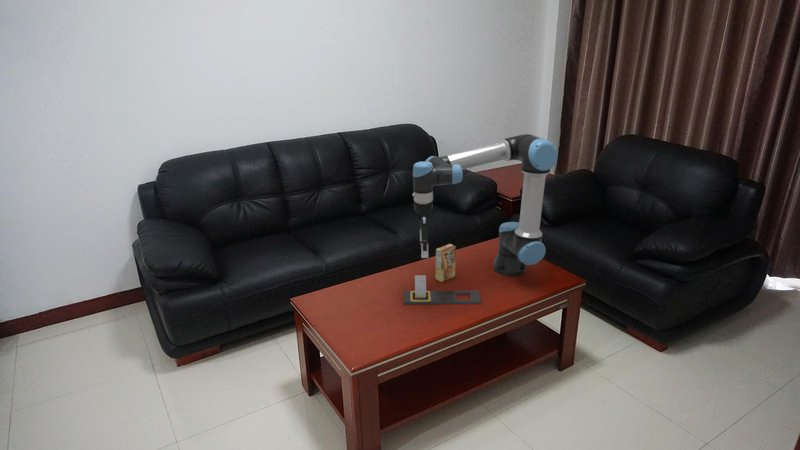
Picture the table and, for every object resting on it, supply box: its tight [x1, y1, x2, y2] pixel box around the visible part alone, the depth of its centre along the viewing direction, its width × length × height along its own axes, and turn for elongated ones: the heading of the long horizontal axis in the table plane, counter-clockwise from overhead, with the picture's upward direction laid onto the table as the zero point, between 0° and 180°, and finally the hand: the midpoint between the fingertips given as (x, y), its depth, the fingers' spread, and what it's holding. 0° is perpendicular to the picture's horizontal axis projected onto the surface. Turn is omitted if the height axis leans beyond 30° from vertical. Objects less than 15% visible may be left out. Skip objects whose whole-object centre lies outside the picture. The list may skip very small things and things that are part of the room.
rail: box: [403, 290, 482, 305], centre depth 208 cm, size 32×9×1 cm, turn 90°
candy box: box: [434, 243, 457, 282], centre depth 223 cm, size 9×4×15 cm, turn 129°
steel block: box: [414, 274, 427, 300], centre depth 207 cm, size 4×4×10 cm
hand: (424, 250), depth 202 cm, fingers open, 13 cm apart
